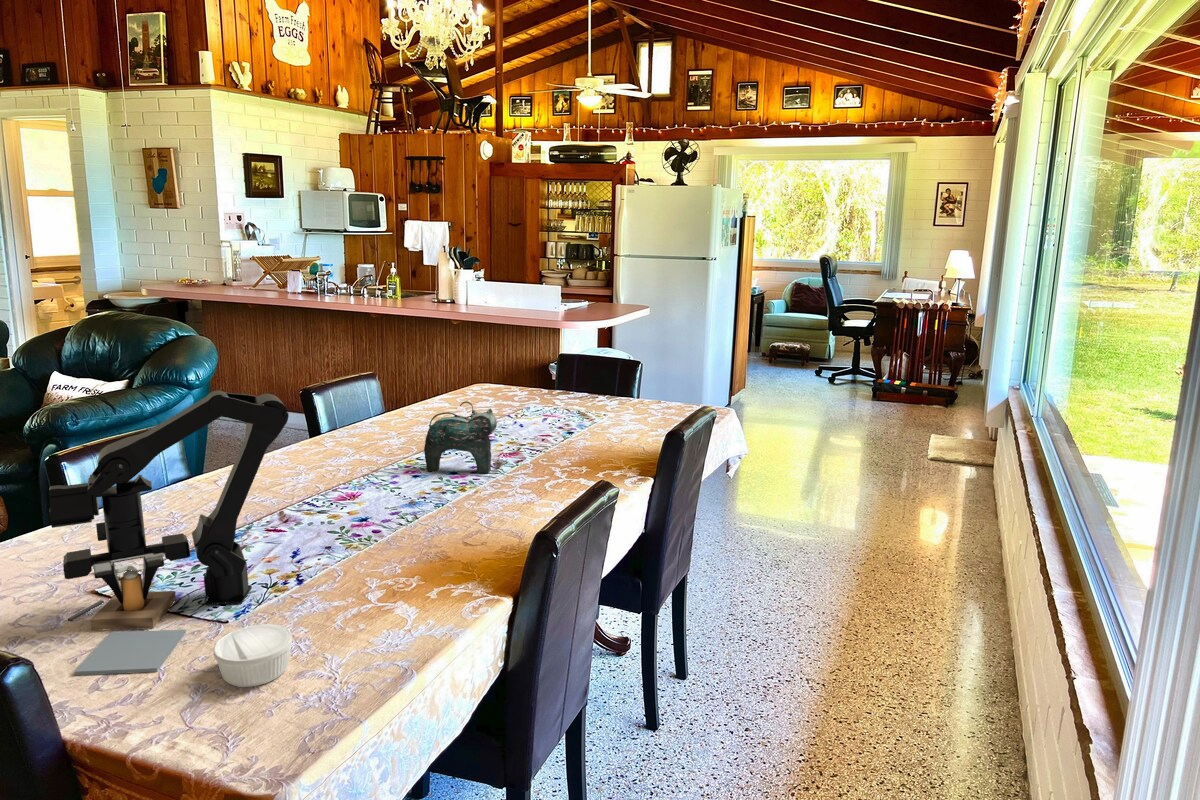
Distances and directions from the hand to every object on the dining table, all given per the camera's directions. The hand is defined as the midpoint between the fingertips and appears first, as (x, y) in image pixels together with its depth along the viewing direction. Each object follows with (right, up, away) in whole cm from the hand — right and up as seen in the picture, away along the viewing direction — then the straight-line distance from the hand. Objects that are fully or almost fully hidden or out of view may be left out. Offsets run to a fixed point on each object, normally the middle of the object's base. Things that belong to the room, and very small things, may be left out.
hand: (133, 600), depth 142 cm
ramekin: (+28, -8, -15) cm, 33 cm away
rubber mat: (+6, -6, -11) cm, 14 cm away
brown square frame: (0, -3, +1) cm, 3 cm away
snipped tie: (-9, -2, +1) cm, 10 cm away
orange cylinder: (0, -3, +1) cm, 3 cm away
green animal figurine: (+43, +15, +83) cm, 95 cm away
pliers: (-9, +1, +16) cm, 19 cm away
